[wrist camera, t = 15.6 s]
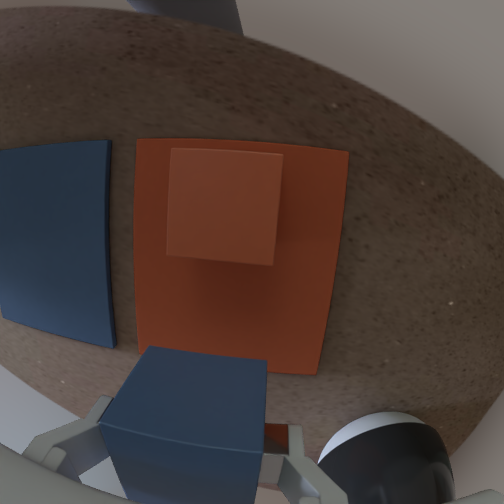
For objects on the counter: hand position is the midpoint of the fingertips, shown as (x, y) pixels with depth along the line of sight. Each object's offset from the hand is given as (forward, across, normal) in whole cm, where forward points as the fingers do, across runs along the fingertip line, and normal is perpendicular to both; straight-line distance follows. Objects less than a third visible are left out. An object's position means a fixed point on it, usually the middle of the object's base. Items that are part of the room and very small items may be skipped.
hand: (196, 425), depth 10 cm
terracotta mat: (+10, 0, -4) cm, 10 cm away
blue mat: (+10, +14, -4) cm, 17 cm away
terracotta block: (+9, 0, -7) cm, 12 cm away
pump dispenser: (+10, -12, +11) cm, 19 cm away
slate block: (+2, 0, 0) cm, 2 cm away
